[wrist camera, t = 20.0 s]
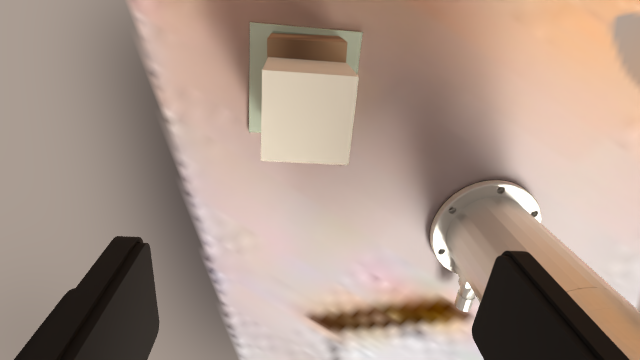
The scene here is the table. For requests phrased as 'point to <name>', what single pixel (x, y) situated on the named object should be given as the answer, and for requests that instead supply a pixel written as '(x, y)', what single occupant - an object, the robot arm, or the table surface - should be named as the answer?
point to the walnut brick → (307, 47)
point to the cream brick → (307, 111)
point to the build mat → (259, 58)
